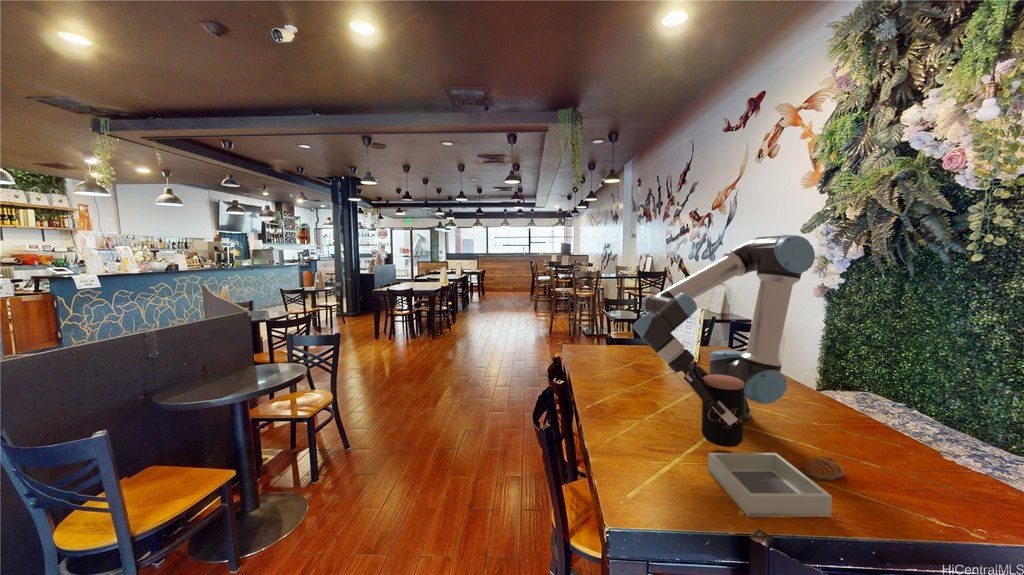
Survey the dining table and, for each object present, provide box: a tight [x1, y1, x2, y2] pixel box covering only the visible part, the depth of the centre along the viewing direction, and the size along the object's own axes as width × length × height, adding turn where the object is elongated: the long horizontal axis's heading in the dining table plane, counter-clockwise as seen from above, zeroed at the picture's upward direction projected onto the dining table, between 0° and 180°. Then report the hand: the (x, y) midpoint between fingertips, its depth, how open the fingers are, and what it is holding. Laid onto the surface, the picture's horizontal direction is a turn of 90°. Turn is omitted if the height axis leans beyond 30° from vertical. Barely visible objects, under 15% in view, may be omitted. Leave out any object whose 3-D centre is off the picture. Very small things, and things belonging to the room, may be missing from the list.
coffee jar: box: [701, 374, 744, 448], centre depth 109 cm, size 11×11×18 cm
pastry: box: [804, 455, 846, 481], centre depth 98 cm, size 9×7×4 cm
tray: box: [707, 452, 833, 519], centre depth 91 cm, size 18×18×5 cm
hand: (733, 414), depth 108 cm, fingers closed on coffee jar, 10 cm apart
